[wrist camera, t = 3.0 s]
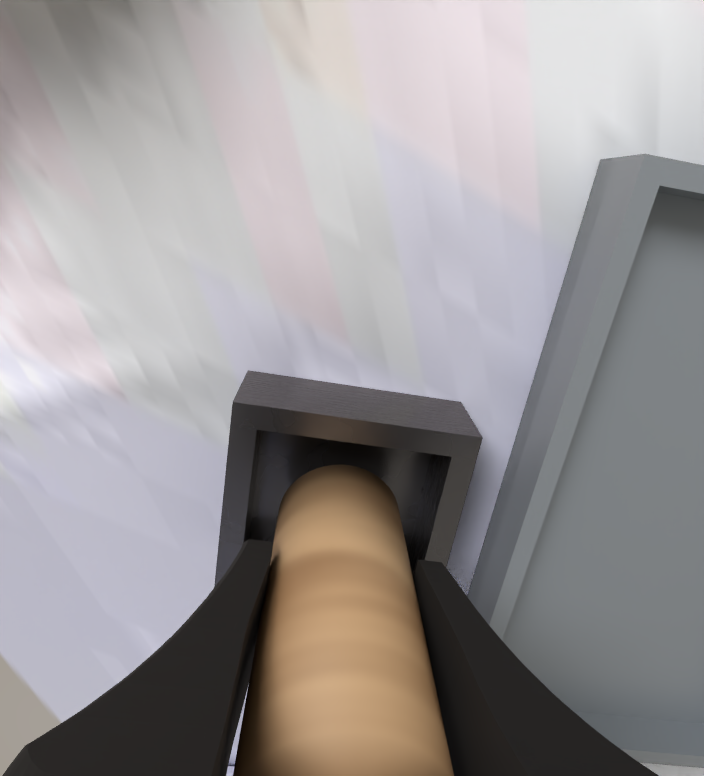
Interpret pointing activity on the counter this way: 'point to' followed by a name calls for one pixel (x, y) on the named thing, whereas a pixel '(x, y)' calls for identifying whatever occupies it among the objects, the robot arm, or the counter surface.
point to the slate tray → (615, 474)
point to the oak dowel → (341, 642)
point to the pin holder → (345, 456)
